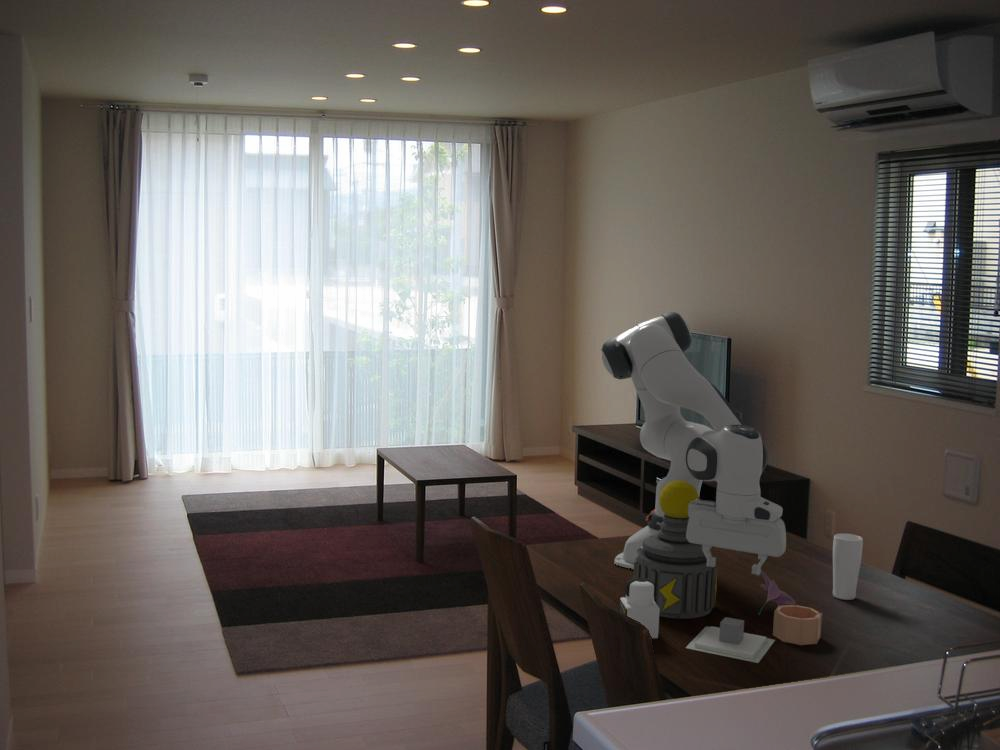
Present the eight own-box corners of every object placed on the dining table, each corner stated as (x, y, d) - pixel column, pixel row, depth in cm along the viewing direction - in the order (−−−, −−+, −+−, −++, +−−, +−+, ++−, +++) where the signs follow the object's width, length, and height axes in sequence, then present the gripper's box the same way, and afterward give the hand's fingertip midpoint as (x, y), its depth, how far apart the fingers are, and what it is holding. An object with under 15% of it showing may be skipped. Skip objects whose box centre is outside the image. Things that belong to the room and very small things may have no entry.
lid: (694, 647, 216) (695, 624, 215) (710, 629, 227) (712, 608, 226) (752, 658, 210) (754, 635, 210) (766, 640, 221) (767, 618, 221)
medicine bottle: (618, 628, 227) (620, 574, 226) (650, 628, 228) (653, 575, 226) (624, 640, 220) (627, 585, 218) (658, 640, 220) (661, 585, 219)
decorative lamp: (717, 600, 248) (725, 476, 245) (711, 626, 230) (719, 492, 227) (638, 591, 253) (644, 469, 250) (626, 616, 235) (632, 485, 232)
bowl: (769, 641, 222) (771, 614, 222) (779, 628, 230) (780, 602, 230) (814, 650, 218) (816, 622, 217) (822, 636, 226) (824, 610, 226)
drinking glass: (860, 603, 250) (865, 541, 249) (830, 600, 252) (835, 539, 250) (856, 594, 257) (861, 534, 255) (827, 591, 258) (832, 532, 257)
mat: (685, 650, 215) (685, 647, 215) (705, 628, 229) (706, 626, 229) (758, 665, 209) (758, 662, 208) (775, 642, 222) (775, 639, 222)
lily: (793, 631, 233) (811, 591, 234) (744, 606, 234) (762, 567, 236) (782, 629, 244) (799, 591, 246) (735, 605, 246) (753, 568, 248)
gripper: (684, 500, 217) (680, 565, 219) (783, 514, 208) (778, 582, 209) (693, 495, 223) (689, 558, 224) (790, 508, 213) (785, 575, 215)
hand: (733, 570), depth 217 cm, fingers open, 8 cm apart
